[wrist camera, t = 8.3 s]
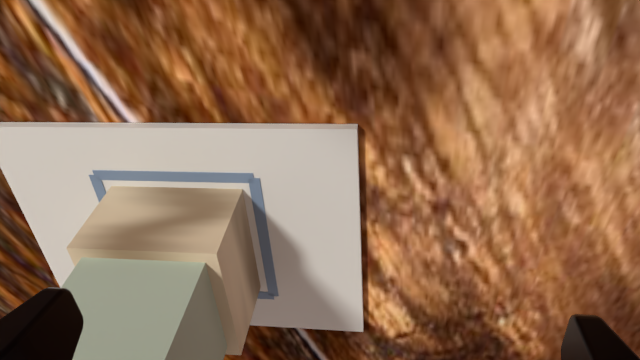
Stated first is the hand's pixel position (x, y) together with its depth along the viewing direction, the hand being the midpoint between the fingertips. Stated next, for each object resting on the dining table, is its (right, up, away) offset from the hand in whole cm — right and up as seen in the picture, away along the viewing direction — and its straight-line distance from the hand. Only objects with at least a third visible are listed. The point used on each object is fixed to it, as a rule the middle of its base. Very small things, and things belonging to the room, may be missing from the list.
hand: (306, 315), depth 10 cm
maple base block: (-6, 0, +16) cm, 17 cm away
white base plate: (-6, 0, +16) cm, 17 cm away
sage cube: (-6, -3, +12) cm, 14 cm away
